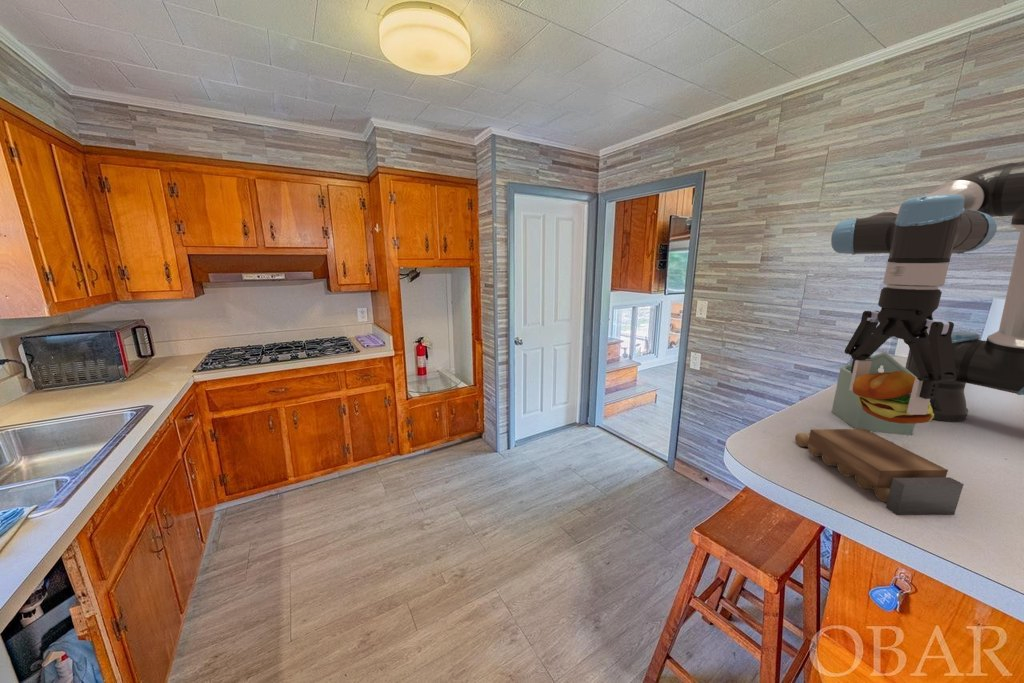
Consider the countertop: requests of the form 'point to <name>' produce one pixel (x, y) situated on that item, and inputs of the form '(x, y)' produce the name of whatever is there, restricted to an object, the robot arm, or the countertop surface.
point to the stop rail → (924, 496)
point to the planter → (853, 411)
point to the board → (872, 456)
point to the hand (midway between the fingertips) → (884, 401)
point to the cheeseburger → (888, 397)
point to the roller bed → (841, 467)
